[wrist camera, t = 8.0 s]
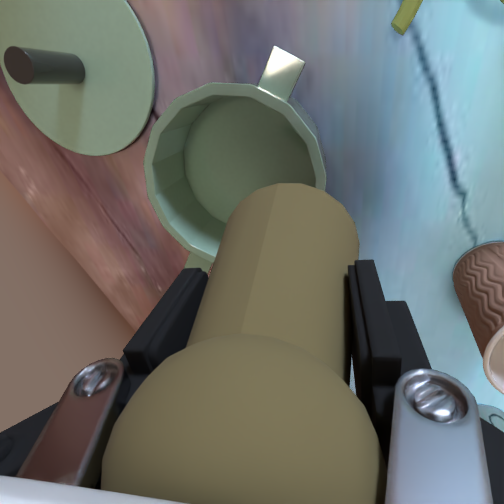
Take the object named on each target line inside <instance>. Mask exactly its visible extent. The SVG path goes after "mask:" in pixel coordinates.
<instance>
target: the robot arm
mask: <svg viewBox="0 0 504 504" xmlns="http://www.w3.org/2000/svg"><path fill="white" fill-rule="evenodd" d="M208 279H209V278H208V275H207V273H206V272H205V271H202V269H201V268H184V269H183V270H182V271H181V273H180V274H179V275H178V277H177V278H176V279H175V281H174V282H173V283H172V285H171V286H170V287H169V289H168V290H167V291H166V293H165V294H164V295H163V297H162V298H161V300H160V301H159V302H158V304H157V305H156V306H155V308H154V309H153V310H152V312H151V313H150V314H149V316H148V317H147V318H146V320H145V321H144V322H143V324H142V325H141V326H140V328H139V329H138V330H137V332H136V333H135V334H134V336H133V337H132V339H131V340H130V341H129V343H128V344H127V345H126V347H125V348H124V349H123V352H124V355H123V356H122V357H121V359H120V360H118V359H115V358H105V359H101V360H98V361H96V362H94V363H91V364H89V365H88V366H86V367H85V368H83V369H82V370H81V371H80V372H79V373H78V374H76V375H75V376H74V378H73V379H72V381H71V382H70V383H69V385H68V387H67V389H66V390H65V392H64V394H63V395H62V397H61V399H60V401H59V402H57V403H55V404H53V405H52V406H50V407H48V408H46V409H44V410H42V411H40V412H38V413H36V414H35V415H33V416H31V417H29V418H27V419H25V420H23V421H21V422H20V423H18V424H16V425H14V426H12V427H10V428H8V429H6V430H4V431H3V432H1V433H0V504H187V503H181V502H175V501H168V500H162V499H156V498H149V497H143V496H136V495H130V494H124V493H117V492H111V491H104V490H101V475H102V459H103V456H104V453H105V450H106V447H107V444H108V441H109V438H110V435H111V432H112V429H113V426H114V424H115V422H116V421H117V419H118V418H119V416H120V414H121V413H122V411H123V410H124V408H125V406H126V405H127V403H128V402H129V400H130V399H131V397H132V396H133V394H134V393H135V392H136V391H137V389H138V388H139V387H140V385H141V384H142V383H143V382H144V380H145V379H146V378H147V377H148V376H149V375H150V374H151V373H152V372H153V371H154V370H155V369H156V368H157V367H158V366H159V365H160V364H161V363H162V362H163V361H164V360H165V359H166V358H167V357H169V356H171V355H173V354H175V353H177V352H179V351H181V350H183V349H185V348H186V345H187V342H188V339H189V336H190V333H191V330H192V327H193V324H194V321H195V318H196V315H197V312H198V309H199V306H200V303H201V300H202V297H203V294H204V291H205V288H206V285H207V282H208ZM348 281H349V291H350V304H351V316H352V328H353V343H352V360H353V369H354V378H355V388H356V396H357V397H358V399H359V400H360V401H361V402H362V403H363V405H364V406H365V408H366V410H367V413H368V415H369V417H370V420H371V422H372V424H373V427H374V429H375V431H376V434H377V436H378V439H379V443H380V446H381V450H382V453H383V456H384V460H385V463H386V468H387V473H388V475H387V486H386V497H385V504H504V432H503V431H501V430H500V429H498V428H497V427H495V426H494V425H492V424H490V423H489V422H487V421H486V420H484V419H482V418H481V417H480V416H479V409H478V405H477V403H476V400H475V397H474V396H473V394H472V393H471V392H470V390H469V389H468V388H467V387H466V386H465V385H464V384H462V383H461V382H460V381H459V380H457V379H456V378H454V377H452V376H450V375H448V374H446V373H443V372H440V371H437V370H433V369H432V368H431V366H430V363H429V360H428V358H427V355H426V353H425V350H424V347H423V345H422V342H421V339H420V337H419V334H418V332H417V329H416V326H415V324H414V321H413V319H412V316H411V313H410V311H409V308H408V306H407V304H406V302H405V301H385V298H384V295H383V291H382V288H381V284H380V281H379V277H378V274H377V270H376V267H375V263H374V260H355V261H354V265H348Z"/></svg>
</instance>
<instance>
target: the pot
mask: <svg viewBox="0 0 504 504" xmlns="http://www.w3.org/2000/svg"><path fill="white" fill-rule="evenodd" d="M304 66H305V62H304V61H302V60H301V59H299V58H297V57H295V56H293V55H291V54H289V53H288V52H286V51H284V50H282V49H280V48H278V47H276V46H274V47H273V49H272V52H271V54H270V57H269V59H268V62H267V64H266V67H265V69H264V72H263V74H262V76H261V79H260V81H259V84H250V83H213V82H211V83H208V84H206V85H204V86H202V87H199V88H197V89H195V90H193V91H191V92H188V93H186V94H184V95H182V96H180V97H177V98H176V99H174V101H173V102H172V103H171V104H170V106H169V107H168V108H167V109H166V110H165V112H164V113H163V114H162V115H161V117H160V118H159V119H158V120H157V122H156V123H155V124H154V125H153V127H152V130H151V133H150V137H149V141H148V145H147V149H146V153H145V157H144V161H143V164H144V172H145V179H146V187H147V195H148V198H149V200H150V202H151V204H152V206H153V208H154V210H155V212H156V214H157V216H158V218H159V220H160V222H161V224H162V226H163V227H164V228H165V229H166V230H167V231H168V232H169V233H170V234H171V235H172V236H173V237H174V238H175V239H176V240H177V241H178V242H179V243H180V244H181V245H182V246H183V247H184V248H185V249H187V250H188V251H190V254H189V257H188V259H187V262H186V264H185V266H184V268H201V269H202V271H205V272H206V273H207V275H208V273H209V271H210V269H211V266H212V264H213V263H214V261H215V258H216V255H217V252H218V248H219V245H220V242H221V239H222V236H223V233H224V230H225V227H226V224H227V221H228V218H229V217H230V215H231V214H232V212H233V211H234V209H235V208H236V207H237V205H238V204H239V202H240V201H242V200H243V199H245V198H246V197H247V196H249V195H250V194H251V193H253V192H254V191H256V190H257V189H261V188H264V187H267V186H270V185H274V184H277V183H302V184H305V185H308V186H311V187H314V188H317V189H320V190H323V191H325V186H326V179H327V176H326V158H325V154H324V150H323V146H322V142H321V138H320V134H319V130H318V127H317V126H316V124H315V123H314V122H313V120H312V119H311V118H310V116H309V115H308V113H307V112H306V111H305V110H304V109H303V108H302V106H301V105H300V104H299V102H298V101H297V100H296V99H294V98H292V97H290V96H291V94H292V92H293V90H294V87H295V85H296V83H297V81H298V79H299V77H300V75H301V72H302V70H303V68H304Z"/></svg>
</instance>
